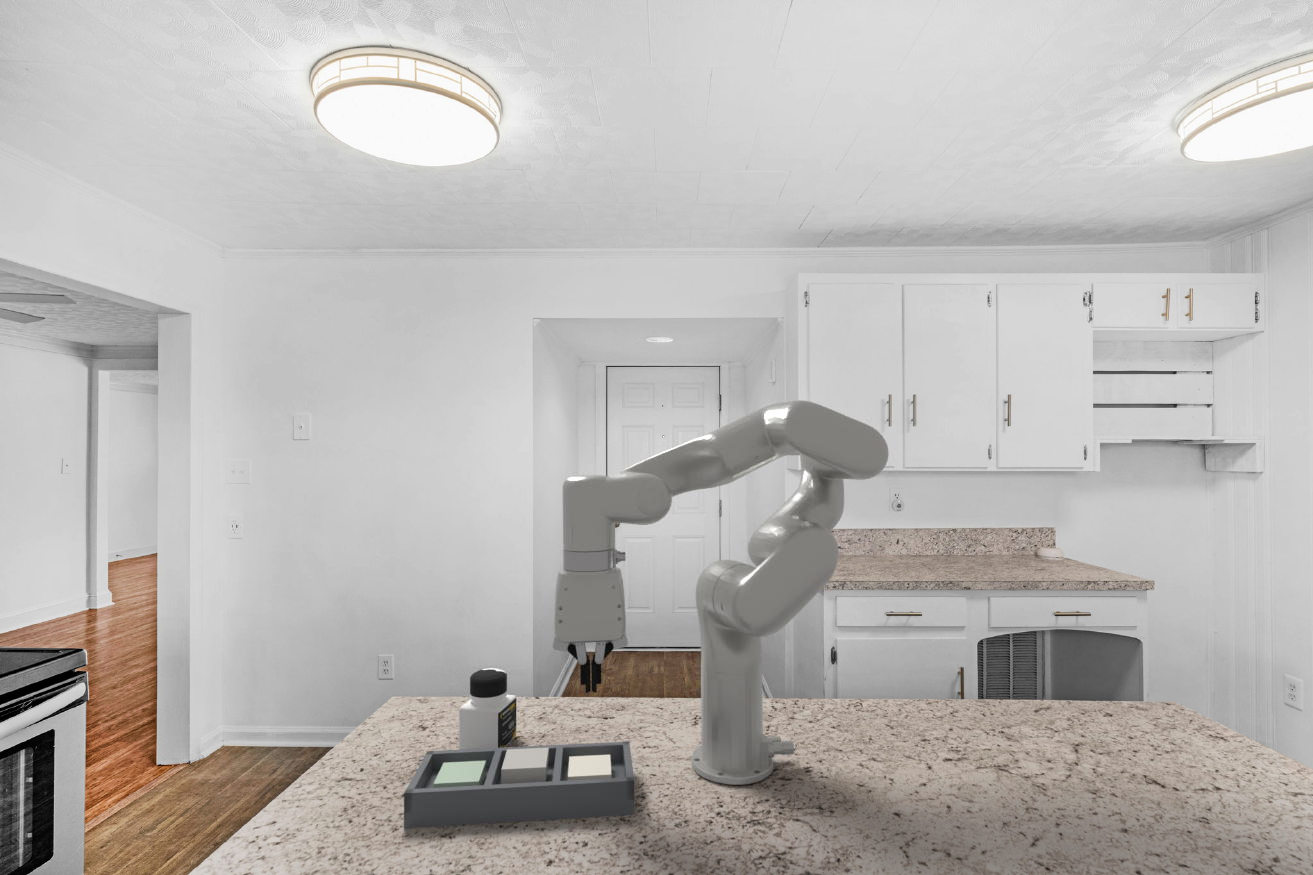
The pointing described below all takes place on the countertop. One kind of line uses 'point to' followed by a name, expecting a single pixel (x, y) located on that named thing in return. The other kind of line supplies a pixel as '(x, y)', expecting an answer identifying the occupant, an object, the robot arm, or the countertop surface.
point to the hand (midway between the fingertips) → (591, 688)
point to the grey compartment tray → (520, 789)
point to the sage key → (461, 774)
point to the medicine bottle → (487, 712)
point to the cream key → (589, 767)
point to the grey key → (525, 765)
